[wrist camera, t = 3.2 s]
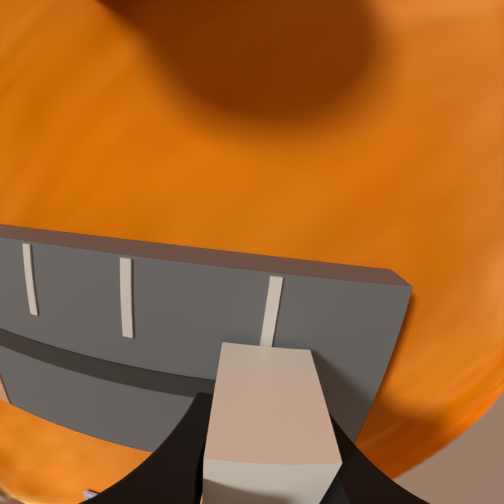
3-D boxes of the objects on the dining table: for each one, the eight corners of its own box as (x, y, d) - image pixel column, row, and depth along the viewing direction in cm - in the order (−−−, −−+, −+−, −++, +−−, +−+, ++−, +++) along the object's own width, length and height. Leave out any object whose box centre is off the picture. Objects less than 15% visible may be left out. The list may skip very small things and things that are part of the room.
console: (335, 439, 15) (342, 467, 13) (-41, 353, 14) (-57, 366, 12) (391, 269, 12) (414, 288, 10) (-67, 216, 11) (-89, 222, 9)
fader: (284, 442, 12) (294, 540, 7) (214, 437, 12) (202, 536, 7) (309, 349, 10) (342, 463, 6) (222, 341, 10) (203, 458, 5)
